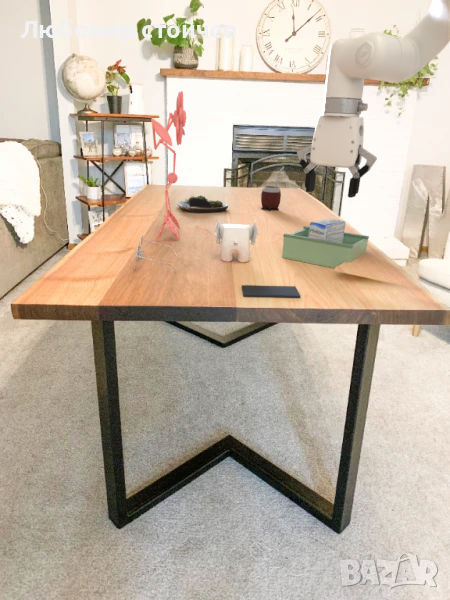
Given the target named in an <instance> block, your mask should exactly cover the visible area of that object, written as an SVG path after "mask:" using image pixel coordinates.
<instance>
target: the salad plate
mask: <svg viewBox="0 0 450 600" xmlns="http://www.w3.org/2000/svg"><path fill="white" fill-rule="evenodd" d="M176 205H177V206H178V207H179V208H180V209H182V210H184V211H185V210H186V212H188V213H192V212H194V213H193V214H214V213H223V212H225V211H227V209H228V208H229V204H227V203H223V202H222V201H221V200H218V199H217V200H212V199H211V200H210V199H208V198H206V197H205V196H203V195H197V196H195V195H191V197H190V196H189V198H185V199H184V200H183V201H177V202H176Z"/></svg>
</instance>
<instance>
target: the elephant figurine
mask: <svg viewBox="0 0 450 600" xmlns="http://www.w3.org/2000/svg"><path fill="white" fill-rule="evenodd" d="M257 224H258V223H257V220H254V221H253V222H252V223H251V225H250V224H241V223H240V224H239V223H237V224H235V223H223V224H222V222H221V221H220V220H219V218H216V222H215V227H214V231H213V234H214V236H215V238H216V239H215V243H216V244H218V245H219V244H220V245H219V248H220V258H221V261H222V262H232V261H233V254H234V253H235V252H236V253H237V261H238V262H240V263H247V262H249V260H250V257H251V246H254V245H255V244H256V239H257V238H258V236H259V230H258V225H257Z"/></svg>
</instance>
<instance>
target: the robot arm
mask: <svg viewBox="0 0 450 600" xmlns="http://www.w3.org/2000/svg"><path fill="white" fill-rule="evenodd" d="M449 43H450V0H432V1H431V4H430V6H429V8H428V9H427V11H426V13H425V15H424V16H423V17H422V18H421V20H419V22H417V24H416V25H414V27H413V28H411V30H410V31H408V32H407V33H406V34H405V35H404V36H403V37H400V36H397V35H393V34H388V33H386V32H385V33H384V32H379V31H374V32H368V33H366V34H363V35H360V36H357V37H354V38H340V39H336V40H334V41H333V42H332V44H330V47H329V50H328V51H329V52H328V59H327V60H328V61H327V69H326V76H325V77H326V78H325V86H324V95H323V102H322V110H321V112H322V113H321V115H318V118H317V121H316V124H315V128H314V132H313V137H312V141H311V144H310V145H307V146H305V147H303V148H300V149H298V150H297V151H296V156H297V158H298V161H299V164H300V166H301V167H302V169H303V173H305V180H304V188H305V192H306V193H311V192H314V191H315V186H316V178H317V173H316V172H315V171H316V170H317V169H318V168H319V166H323V167H333V168H344V169H348V170H349V172H350V174H351V175H352V177H351V178H350V179H349V185H348V191H347V197H348V198H355V197H356V195H357V194H358V193H359V190H360V184H361V178H362V177H363V176H364V175H366V174H367V173H368V172H370V170H371V168H372V167H373V166H374V165H375V163H376V162H377V159H378V157H377V156H376V155H374V154H373V153H371V152H370V151H368V150H367V149H365V148H364V133H365V131H364V130H365V125H364V123H365V122H364V117H361V116H360V115H361V114H362V112H364V111H365V112H366V111H368V108H369V104H368V103H365V102H363V101H364V100H363V93H364V87H365V79H366V80H371V81H379V82H386V83H391V84H399V83H403V82H404V81H407V80H409V79H410V78H412V77H413V76H415V75H416V74H418V73H419V72H420V71H421V70H422V69H424V68H425V67H426V66H428V64H430V63H431V62H432V61H433V60H434V59H435V58H436V57H437V56H438V55H439V54H440V53H441V52H442V51H443V50H444V49H445V48H446V47H447V45H448V44H449ZM309 153H310V155H309V157H310V158H309V159H310V162H309V161H308V159H307V154H309ZM362 159H365V160H366V162H365V163H364V165H363V166H362V167H360V165H361V163H362Z"/></svg>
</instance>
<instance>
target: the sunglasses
mask: <svg viewBox="0 0 450 600" xmlns="http://www.w3.org/2000/svg"><path fill="white" fill-rule="evenodd" d="M139 241H140V243H138V244H137V246H136V253H135V254H134V255H135V259H134V265H133V266H134V267H133V268H134V269H133V270H134V271H135V270H136V267H137V264H138V260H141V259H145V260H149V261H153V262H158V263H162V264H165V265H169V266H170V267H171V268H172V270H173V272H174V274H177V272H176V270H175V269H174V267H173V266H172V265H171V264H170V263H168V262H163V261H159V260H155V259H151V258H148V257H144V252H145V249H142V247H143V246H142V245H143V241H147V242H151V243H153V244H156V243H157V244H159V245H162V246H165V247H169V248H171V249H172V250H173V252H174V254H175V256H176V257H177V256H178V254H177V252H176V251H175V248H173V247H172V246H171V245H168V244H163V243H159V242H156V241H153V240H149V239H146V238H144V236H143V235H141V236H140V240H139Z"/></svg>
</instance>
